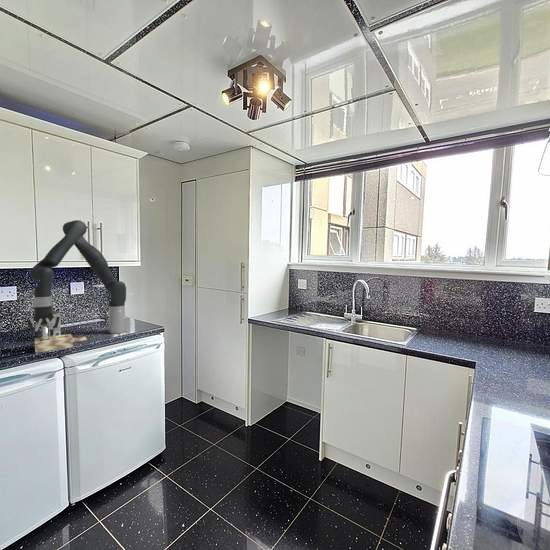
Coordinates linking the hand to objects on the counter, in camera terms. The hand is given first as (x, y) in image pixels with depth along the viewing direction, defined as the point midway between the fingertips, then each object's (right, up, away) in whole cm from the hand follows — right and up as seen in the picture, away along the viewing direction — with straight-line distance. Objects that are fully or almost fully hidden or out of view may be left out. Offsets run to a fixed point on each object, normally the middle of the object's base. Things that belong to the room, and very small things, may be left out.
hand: (44, 336), depth 158 cm
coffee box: (-11, -5, +19) cm, 22 cm away
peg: (0, -6, +1) cm, 6 cm away
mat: (+6, -5, +18) cm, 19 cm away
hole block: (+3, -6, +3) cm, 8 cm away
